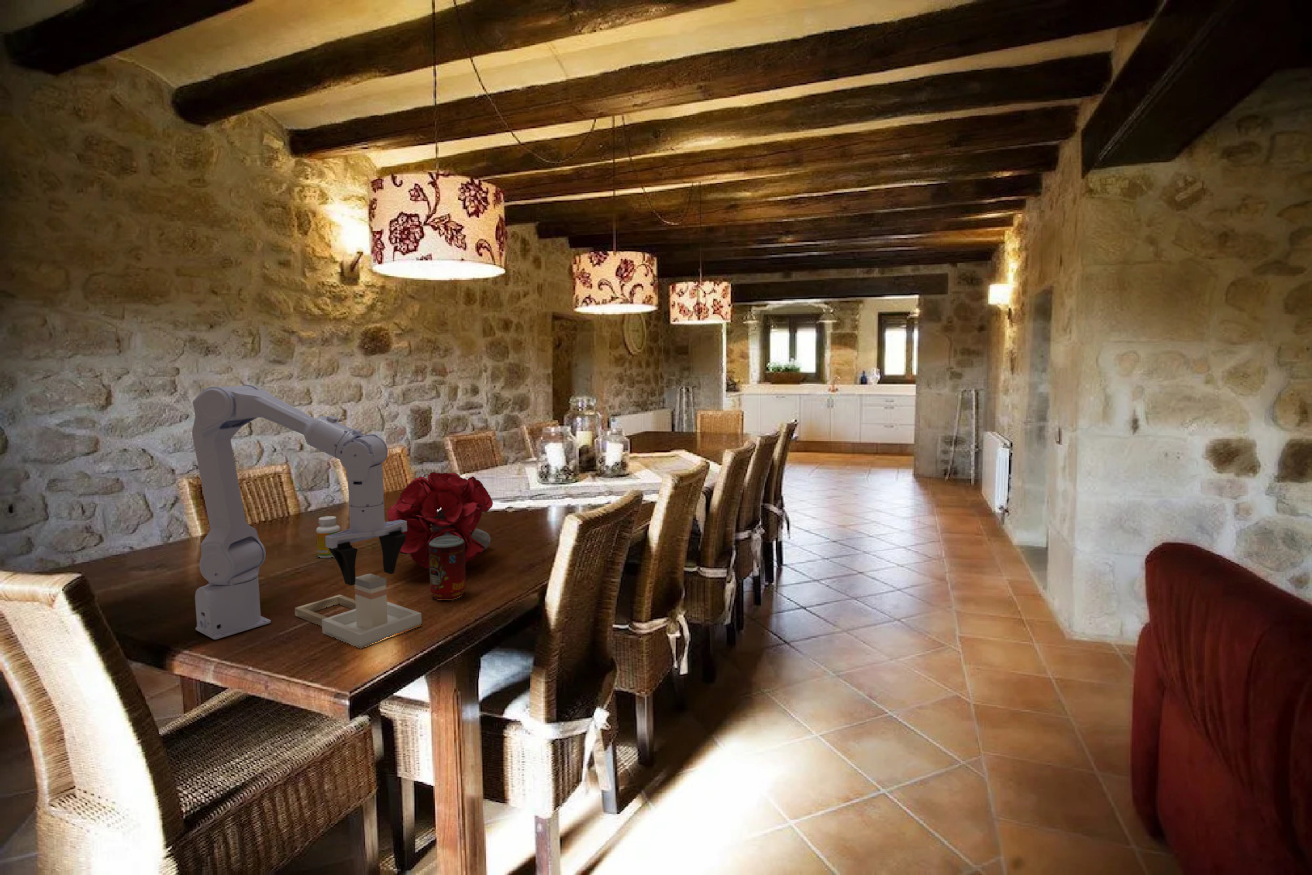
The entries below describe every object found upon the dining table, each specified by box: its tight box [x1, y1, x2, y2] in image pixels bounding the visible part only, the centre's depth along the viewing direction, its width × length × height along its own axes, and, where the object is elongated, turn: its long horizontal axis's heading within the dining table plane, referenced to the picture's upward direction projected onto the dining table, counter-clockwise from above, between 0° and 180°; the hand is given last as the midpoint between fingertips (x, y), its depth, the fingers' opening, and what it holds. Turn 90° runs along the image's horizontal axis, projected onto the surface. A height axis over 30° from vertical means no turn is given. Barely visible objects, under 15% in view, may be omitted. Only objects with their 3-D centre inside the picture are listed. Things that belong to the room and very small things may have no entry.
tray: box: [321, 601, 423, 650], centre depth 119 cm, size 12×12×2 cm
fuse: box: [353, 572, 388, 630], centre depth 119 cm, size 3×5×9 cm, turn 55°
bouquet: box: [386, 471, 494, 570], centre depth 158 cm, size 22×24×30 cm
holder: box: [294, 594, 356, 627], centre depth 127 cm, size 9×11×2 cm
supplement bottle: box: [315, 515, 341, 559], centre depth 165 cm, size 5×5×10 cm
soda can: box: [429, 535, 467, 600], centre depth 136 cm, size 7×7×12 cm
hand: (370, 578), depth 118 cm, fingers open, 7 cm apart
